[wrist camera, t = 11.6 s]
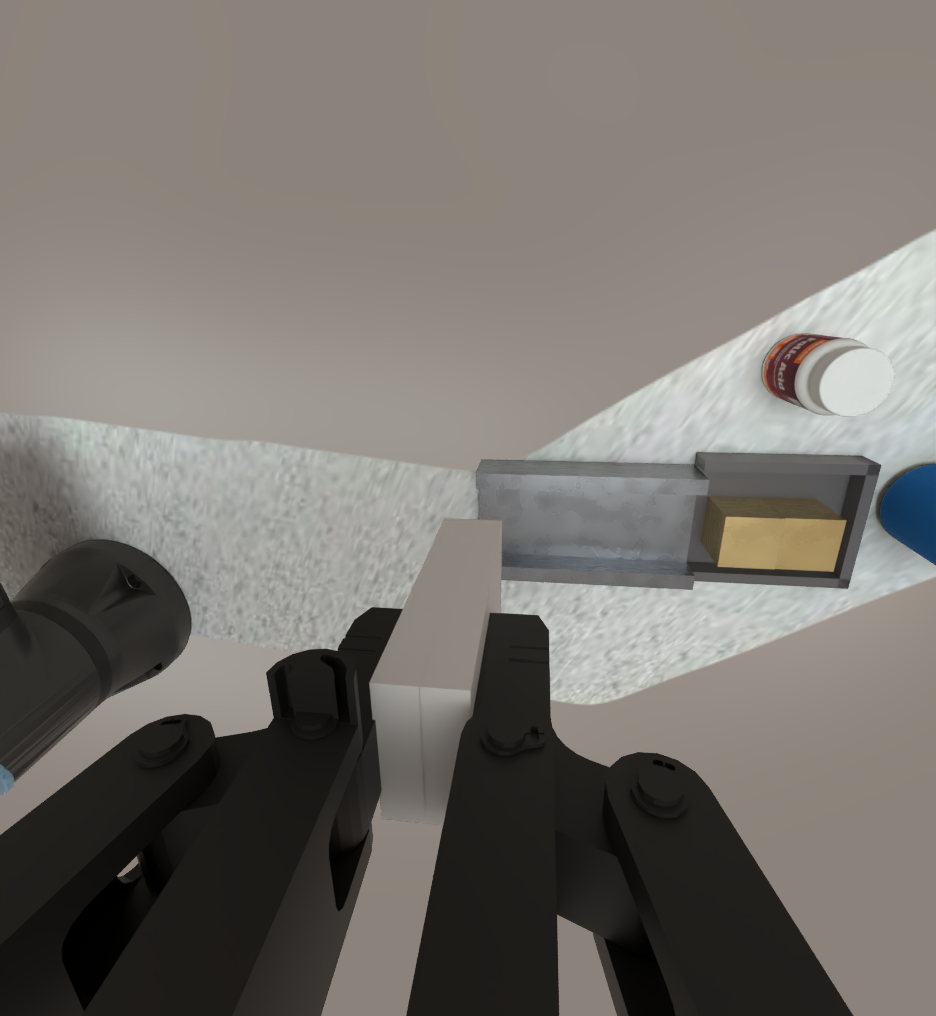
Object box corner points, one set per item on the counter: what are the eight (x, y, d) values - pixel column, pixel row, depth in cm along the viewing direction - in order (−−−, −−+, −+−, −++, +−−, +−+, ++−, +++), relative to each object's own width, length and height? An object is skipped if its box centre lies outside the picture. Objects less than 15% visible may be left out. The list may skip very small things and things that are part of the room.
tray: (680, 566, 46) (687, 580, 44) (696, 452, 42) (705, 460, 40) (831, 573, 44) (848, 588, 42) (862, 455, 41) (881, 464, 38)
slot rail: (481, 557, 48) (476, 578, 44) (481, 459, 45) (475, 473, 41) (680, 566, 46) (692, 589, 42) (694, 464, 43) (709, 479, 39)
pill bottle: (780, 324, 38) (841, 329, 31) (843, 345, 38) (920, 356, 31) (747, 388, 40) (797, 408, 32) (808, 408, 40) (872, 433, 32)
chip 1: (701, 542, 44) (717, 566, 40) (708, 496, 43) (726, 516, 39) (752, 544, 44) (774, 569, 40) (761, 497, 42) (785, 518, 38)
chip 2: (752, 543, 44) (774, 568, 40) (761, 497, 42) (785, 518, 38) (805, 545, 43) (833, 571, 39) (816, 498, 42) (846, 520, 38)
